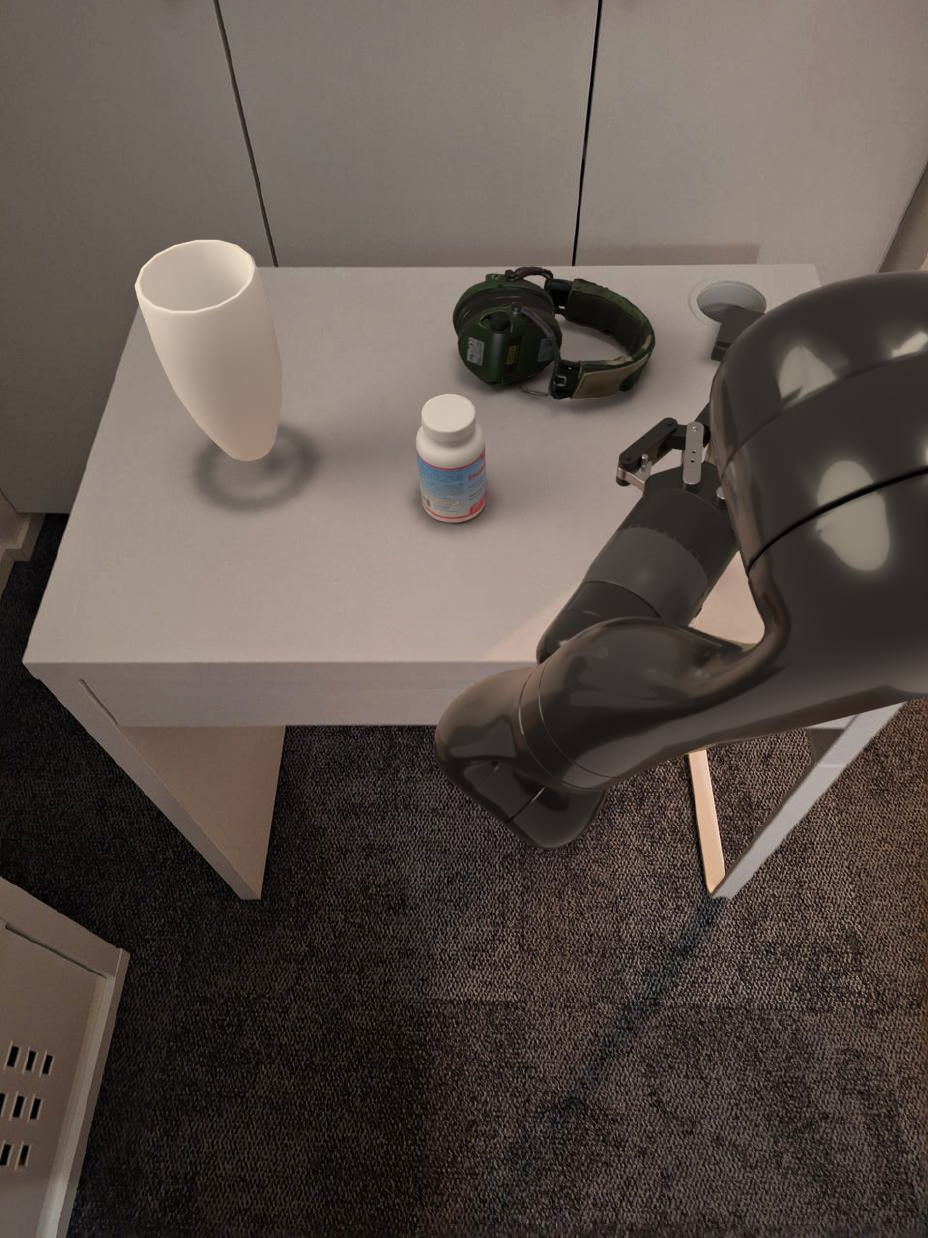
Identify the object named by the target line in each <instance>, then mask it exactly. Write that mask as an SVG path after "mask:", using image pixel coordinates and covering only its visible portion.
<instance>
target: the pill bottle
mask: <svg viewBox="0 0 928 1238" xmlns="http://www.w3.org/2000/svg"><path fill="white" fill-rule="evenodd" d="M476 413H477V412H476V407H475V406H474V404H473V403H472V402H471V400H469V398H466V397H465V396H462V395H460V394H455V393H444V394H439V395H436V396H434V397H432V398H430V399H429V400H428V401H427V402H426V403H425V404H424V405H423V407H422V409H421V415H420V416H421V425H420V427H419V429H418V431H417V433H416V437H415V448H416V449H415V450H416V459H417V468H418V479H419V488H420V495H421V504H422V506H423V508H424V510H425V511H426V512H427V514H428V515H430V516H431V517H432V518H433V519H435V520H437V521H440V522H443V523H461V522H465V521H468V520H472V519H473V518H475V517H476V516H477V515H479V514H480V513H481V511H482V510H483V509H484V507H485V505H486V502H487V462H486V460H487V459H486V438H485V433H484V431H483V428H482V427H481V425H480V424H479V423H478V421H477V414H476Z"/></svg>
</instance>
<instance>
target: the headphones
mask: <svg viewBox="0 0 928 1238" xmlns="http://www.w3.org/2000/svg"><path fill="white" fill-rule="evenodd" d="M534 276H540V277H543V278H544V279H545V280H544V283H543V287H542V286H541V285H538V284H537V283H535V282H533V281H530V280H527V279H525V278H527V277H534ZM484 279H485V280H483V281H481V282H478V283H475V284H473V285H471V286H470V287H468V288H467V289H466V290H465V291H464V292H463V293H462V294H461V295H460V297H459V298H458V300H457V303H456V304H455V306H454V309H453V311H452V325H453V329H454V331H455V334H456V336H457V349H458V356H459V357H460V359H461V361H462V363H463V365H464V366H465V367H466V368H467V370H469V371H470V372H471V373H472V374H473V375H474V376H475V377H476V378H477V379H478V380H479V381H483V383H484V384H485V385H486V386H491V387H493V386H496V385H498V384H500V385H503V386H507V385H509V384H510V383H515V382H518V381H520V380H524V379H527V378H530V377H532V376H533V377H534V376H535V375H538V374H540V373H541V372H543V371H544V370H545V369H547V368H548V367H549V366H550V365H551V364H552V363H553V366H552V370H551V375H550V378H549V379H550V380H549V383H548V388H547V390H548V391H538V390H530V389H527V388H524V387H522V386H520V385H518V388H519V389H521V390H523V391H525V392H526V393H530V394H532V395H535V396H541V397H548V396H549V397H551V398H552V399H553V400H556V401H557V400H558V401H562V400H565V399H567V398H569V399H570V400H587V399H605V398H611V397H613V396H615V395H617V394H618V393H626V392H629V391H631V390H632V389H633V388H634V387H635V386H636V385H637V382H638V381H639V380H640V378H641V377H642V375H643V373H644V371H645V369H646V366H647V364H648V362H649V360H650V359H651V356H652V354H653V352H654V348H655V347H656V332H655V330H654V328H653V326H652V324H651V321H650V319H649V317H647V316H646V314H644V312H643V311H642V310H641V309H640V308H639V307H638V306H637V305H636V304H634V303H633V302H632V301H630V299H628V298H627V297H625V296H623V295H621V294H619V293H617V292H615V291H613V290H610V289H609V288H608V286H607V287H605V286H603V285H599V284H598V283H596V282H593V281H588V280H587V279H584V278H578V277H577V278H573V280H568V279H564V278H554V273H553V272H552V270H550V269H547V268H543V267H542V266H534V265H533V266H532V265H530V266H521V267H518V268H515V270H512V269H505V270H504V273H494V272H491V273H487V274H485V277H484ZM556 315H560V316H562V317H563V318H564V320H565V321H566V322H568V323H571V324H573V325H576V326H579V327H583V328H584V327H585V328H589V329H591V330H594V331H597V332H598V333H600V334H602V335H604V336H606V337H609V338H610V339H611V340H613V341H614V342H616V343H617V344H618V345H619V346H620V347H622V349H624V351H626V352H627V353H628V356H624V355H621V356H618V357H616V358H614V359H612V360H611V359H610V360H609V359H600V360H599V359H598V360H580V359H579V360H577V361H572V360H567V359H565V358H564V359H563V357H562V356H563V355H562V352H561V348H562V345H563V331H562V328H561V325H560V323H559V321H558V320H557V318H556Z"/></svg>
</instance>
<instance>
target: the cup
mask: <svg viewBox="0 0 928 1238" xmlns="http://www.w3.org/2000/svg"><path fill="white" fill-rule="evenodd" d="M134 290H135V293H136V297H137V301H138V304H139V307H140V310H141V313H142V316H143V318H144V321H145V324H146V327H147V330H148V333H149V336H150V339H151V342H152V345H153V347H154V351H155V353H156V355H157V357H158V359H159V361H160V364H161V365H162V368H163V370H164V372H165V374H166V377H167V378H168V381H169V383H170V385H171V387H172V389H173V392H174V393H175V395H176V396H177V397H178V399H179V400H180V401H181V403H182V405H183V406H184V407H185V408H186V410H187V412H188V413H189V414H190V415H191V417H192V419H193V420H194V422H195V423H196V424H197V425H198V426H199V428H200V429H202V431H203V432H204V433H205V434H206V435H207V436H208V437H209V438H210V439H211V440H212V441H213V442H214V444H215V445H217V446H218V447H219V448H220V449H221V450H222V451H223V452H224V453H226V454H227V455H228V456H230V458H232V459H234V460H237V461H240V462H252V461H253V462H254V461H256V460H260V459H262V458H263V457H265V456H266V455H268V454H269V453H270V451H272V449H273V448H274V443H275V440H276V438H277V434H278V430H279V425H280V416H281V412H282V411H281V410H282V403H283V371H282V369H283V367H282V366H283V364H282V357H281V353H280V348H279V343H278V342H279V341H278V338H277V333H276V328H275V327H276V326H275V323H274V322H275V321H274V318H273V315H272V312H271V309H270V306H269V305H270V304H269V302H268V299H267V296H266V291H265V288H264V285H263V281H262V279H261V275H260V272H259V269H258V266H257V263H256V261H255V258H254V256H253V255H251V254H250V253H248V252H247V251H246V250H244V249H243V248H242V247H241V246H239V245H238V244H235V243H231V242H228V241H224V240H220V239H194V240H191V241H187V242H182V243H178V244H174V245H172V246H169V247H168V248H166V249H164V250H162V251H159V252H158V253H155V254H154V255H153V256H152V257H151V258H150V259H149V260H148V261H147V262H146V263H145V264H144V265H143V266H142V267H141V268H140V271H139V273H138V275H137V278H136V281H135V284H134Z"/></svg>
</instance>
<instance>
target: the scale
mask: <svg viewBox="0 0 928 1238" xmlns="http://www.w3.org/2000/svg"><path fill="white" fill-rule="evenodd" d="M765 313H766V312H760V311H755V310H751V309H745V308H740V307H735V306H730V305H729V306H728V308H726V309H725V312H724V315H723V317H722V320H721V323H720V326H719V329H718V333H717V336H716V338H715V341H714V345H713V347H712V352H711V356H710V359H711V360H714V361H719V362H721V360H722V358H723V356H724V354H725V352H726V351H727V350H728V348H729V347H730V346H731V344H732V343H733V342H734V341H735V340H736V338H737V337H738V336H739V335H740V334H741V333H742V332H743V331H744V330H745V329H746V328H747V327H749V326H750V325H751V324H753V323H754V322H755V321H756V320H758V319H759V318H760V317H761V316H763V315H764V314H765Z"/></svg>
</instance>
